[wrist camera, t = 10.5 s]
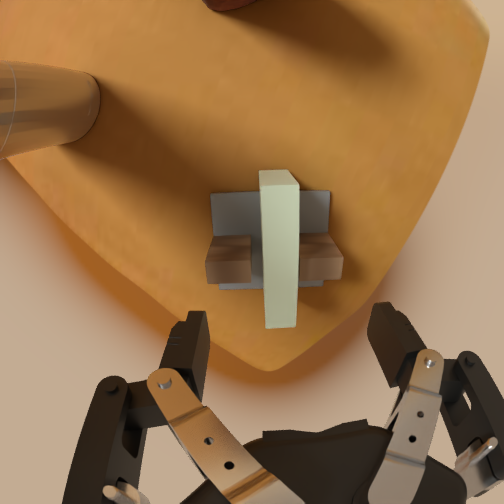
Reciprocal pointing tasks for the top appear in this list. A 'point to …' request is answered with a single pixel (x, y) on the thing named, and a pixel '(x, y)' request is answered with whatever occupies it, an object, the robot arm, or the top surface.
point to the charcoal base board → (249, 223)
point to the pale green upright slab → (279, 246)
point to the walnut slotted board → (240, 259)
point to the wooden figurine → (226, 4)
